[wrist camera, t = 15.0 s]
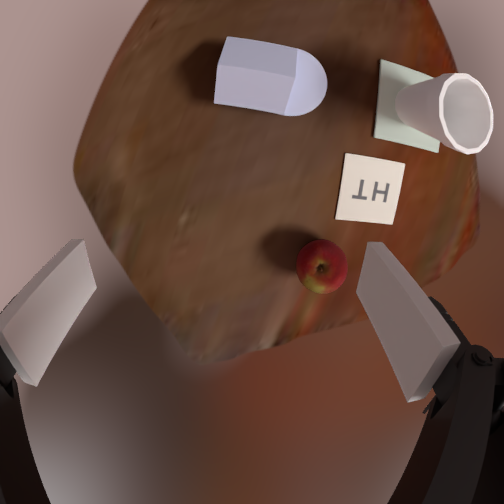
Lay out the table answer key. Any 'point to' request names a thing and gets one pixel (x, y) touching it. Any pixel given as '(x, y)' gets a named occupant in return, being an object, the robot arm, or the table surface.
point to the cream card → (369, 189)
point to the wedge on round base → (269, 77)
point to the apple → (321, 266)
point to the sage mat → (386, 115)
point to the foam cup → (448, 111)
